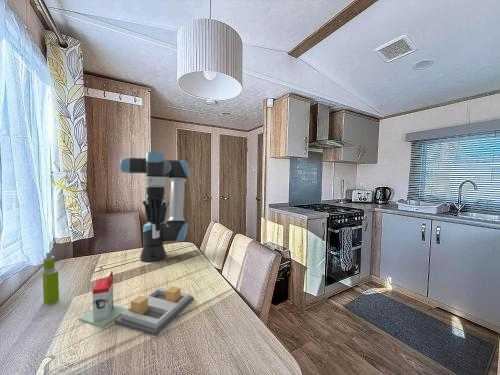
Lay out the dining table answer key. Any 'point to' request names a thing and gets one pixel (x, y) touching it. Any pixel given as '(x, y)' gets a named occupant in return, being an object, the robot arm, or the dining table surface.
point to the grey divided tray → (154, 313)
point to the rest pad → (101, 323)
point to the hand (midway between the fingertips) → (155, 237)
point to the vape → (50, 280)
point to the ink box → (103, 298)
